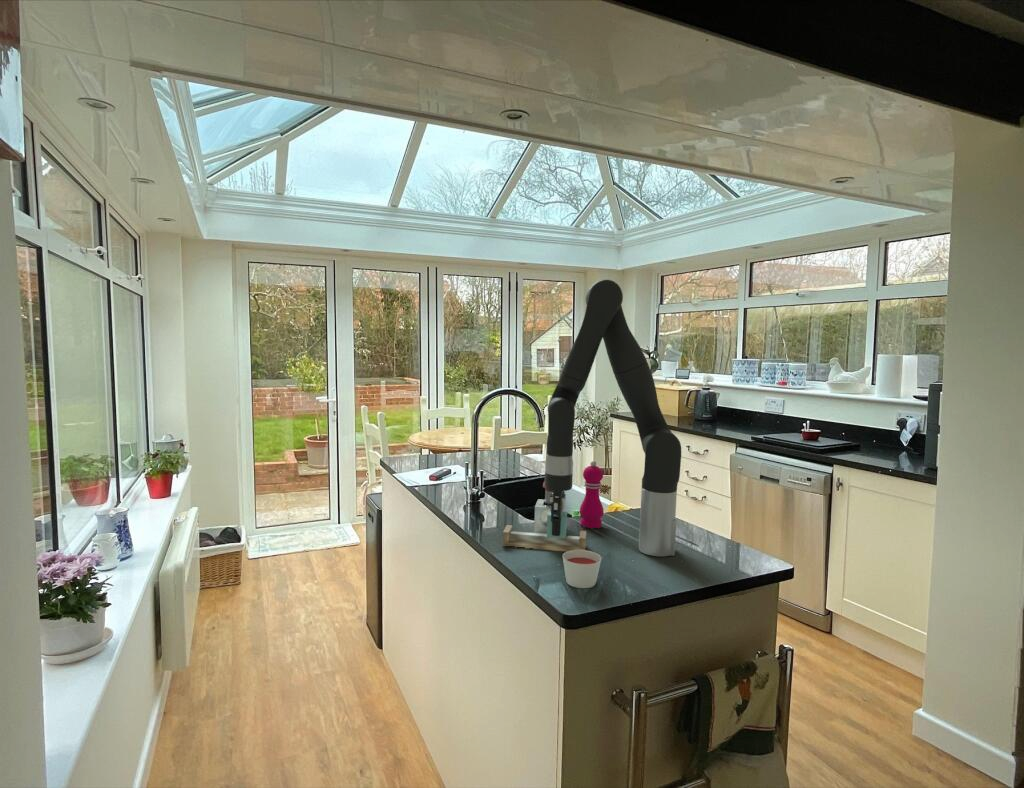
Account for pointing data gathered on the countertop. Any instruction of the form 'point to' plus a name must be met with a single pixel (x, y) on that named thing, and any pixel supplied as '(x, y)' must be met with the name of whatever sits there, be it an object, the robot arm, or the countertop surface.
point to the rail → (542, 546)
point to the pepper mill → (592, 497)
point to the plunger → (547, 495)
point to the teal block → (562, 528)
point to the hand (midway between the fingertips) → (556, 532)
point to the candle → (581, 568)
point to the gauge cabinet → (541, 517)
